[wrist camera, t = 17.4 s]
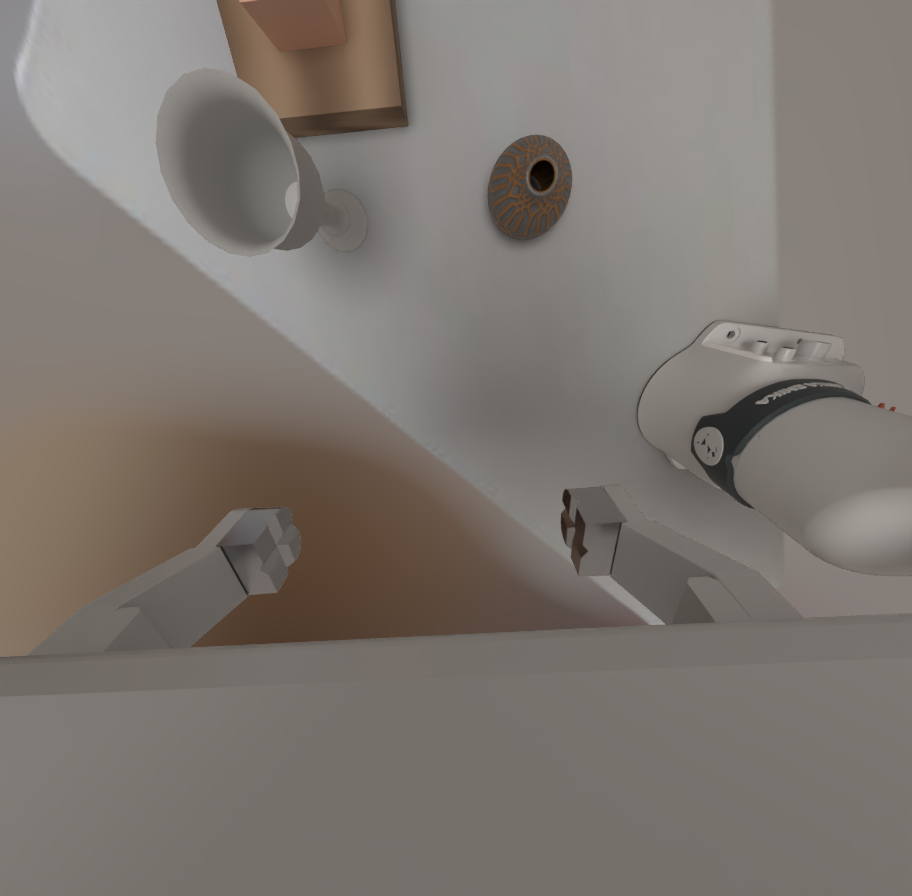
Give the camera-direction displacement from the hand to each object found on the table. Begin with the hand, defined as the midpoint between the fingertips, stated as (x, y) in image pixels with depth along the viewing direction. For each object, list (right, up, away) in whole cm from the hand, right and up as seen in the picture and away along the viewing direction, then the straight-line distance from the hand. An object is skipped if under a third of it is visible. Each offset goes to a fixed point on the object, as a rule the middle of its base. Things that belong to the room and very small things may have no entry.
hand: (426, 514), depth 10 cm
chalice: (-10, +24, +23) cm, 35 cm away
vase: (+7, +26, +22) cm, 35 cm away
